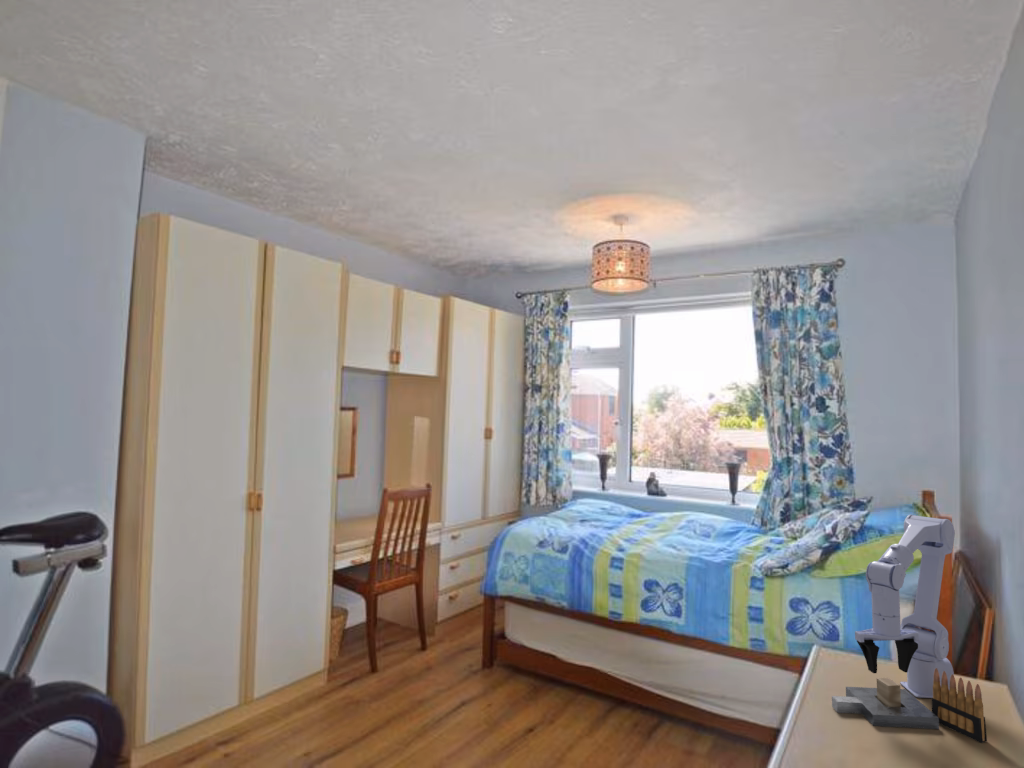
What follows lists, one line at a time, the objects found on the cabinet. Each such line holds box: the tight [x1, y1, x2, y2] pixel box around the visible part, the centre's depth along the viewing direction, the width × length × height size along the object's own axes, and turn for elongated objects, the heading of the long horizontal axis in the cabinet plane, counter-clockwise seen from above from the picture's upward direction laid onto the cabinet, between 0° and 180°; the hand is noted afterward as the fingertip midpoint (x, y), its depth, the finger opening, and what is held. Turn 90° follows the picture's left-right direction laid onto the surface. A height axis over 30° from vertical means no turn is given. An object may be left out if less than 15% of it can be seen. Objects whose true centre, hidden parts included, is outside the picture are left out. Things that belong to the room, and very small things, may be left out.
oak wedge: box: [876, 677, 901, 707], centre depth 143 cm, size 3×4×7 cm
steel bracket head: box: [831, 686, 940, 730], centre depth 143 cm, size 20×14×2 cm
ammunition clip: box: [931, 668, 988, 744], centre depth 135 cm, size 11×2×12 cm, turn 22°
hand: (887, 671), depth 144 cm, fingers open, 7 cm apart
